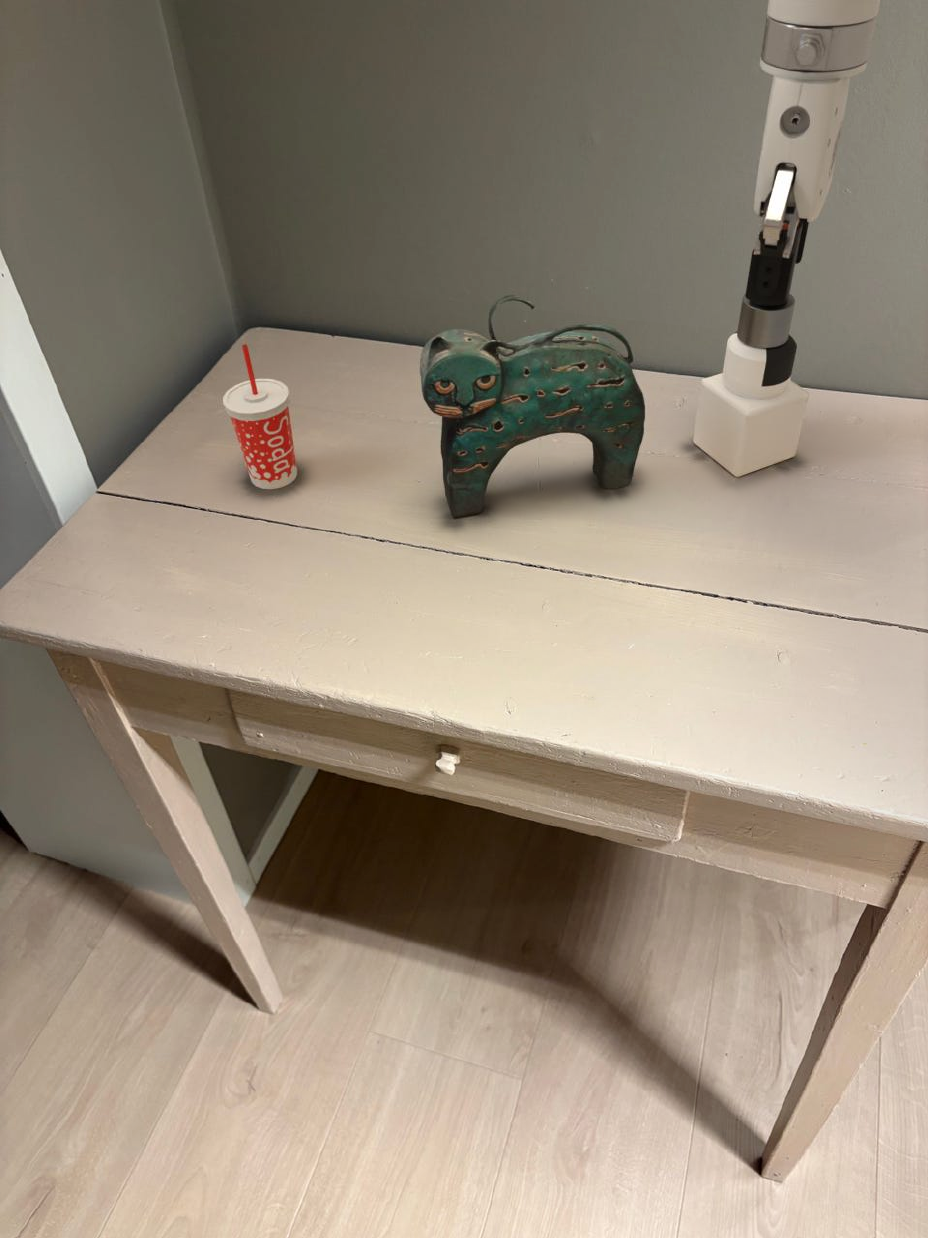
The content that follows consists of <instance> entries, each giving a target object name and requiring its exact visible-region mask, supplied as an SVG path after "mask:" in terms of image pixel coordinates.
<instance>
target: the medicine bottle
mask: <svg viewBox="0 0 928 1238" xmlns="http://www.w3.org/2000/svg"><path fill="white" fill-rule="evenodd" d="M737 331H738V330H736V331H735V332H734V333H732V334H731V335H730V336H729V337H728V338H727V343H726V350H725V356H724V361H723V362H724V363H723V369H722V372H720V373H717V374H715V375H711V376H708V377H705V378H703V379H701V381H700V385H699V393H698V399H697V407H696V415H695V423H694V430H693V437H692V442H693V443H694V444H695V445H696V446H697V447H698V448H700V450H702V451H703V452H705V453H706V454H707V455H708V456H709V457H711V458H712V459H713V460H714V461H715V462H717V463H718V464H719V465H721V466H722V467H723V468H724V469H725V470H727V471H728V472H729V473H730V474H732V475H733V477H736V478H740V477H743V476H744V475H745V476H746V475H748V474H751V473H753V472H755V471H759V470H761V469H764V468H766V467H770V466H772V465H775V464H777V463H781V462H784V461H786V460H788V459H791V458H794V457H796V454H797V451H798V450H797V449H798V446H799V440H800V436H801V431H802V428H803V423H804V419H805V414H806V409H807V405H808V400H809V397H810V393H809V392H808V391H807V390H806V389H804V388H803V387H802V386H801V385H798V384H797V383H796V382H794V381H792V380H791V378H792V373H793V368H794V364H795V359H796V354H797V347H798V345H797V342H796V341H795V339H794V337H793V336H791V334H789V336H788V340H787V341H786V342H785V343H784V344H783V345H781V346H778V347H773V348H757V347H752V346H749V345H746V344H744V343H743V342H741V341H740V340H739V339H738V337H737Z"/></svg>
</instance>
